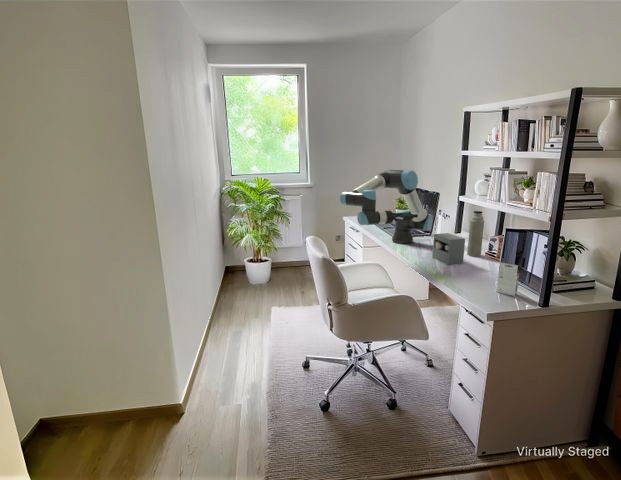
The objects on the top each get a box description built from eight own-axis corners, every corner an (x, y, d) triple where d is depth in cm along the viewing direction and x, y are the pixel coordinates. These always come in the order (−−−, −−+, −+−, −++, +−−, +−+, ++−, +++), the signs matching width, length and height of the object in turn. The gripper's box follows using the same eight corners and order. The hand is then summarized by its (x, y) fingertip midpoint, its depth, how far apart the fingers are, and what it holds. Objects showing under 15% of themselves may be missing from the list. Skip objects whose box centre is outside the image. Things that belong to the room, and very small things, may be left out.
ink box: (498, 290, 175) (501, 260, 172) (517, 294, 170) (520, 263, 166) (496, 292, 172) (499, 262, 169) (514, 296, 167) (518, 265, 164)
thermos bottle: (466, 253, 239) (470, 210, 233) (479, 253, 237) (484, 210, 231) (467, 256, 232) (472, 212, 225) (481, 257, 230) (486, 212, 223)
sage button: (444, 249, 217) (445, 244, 216) (452, 248, 218) (452, 244, 218) (447, 250, 214) (448, 245, 214) (455, 250, 216) (455, 245, 215)
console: (432, 257, 229) (434, 234, 226) (446, 256, 232) (448, 233, 228) (448, 265, 214) (450, 239, 211) (463, 263, 217) (465, 238, 213)
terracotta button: (435, 245, 226) (435, 241, 225) (442, 245, 227) (443, 240, 227) (438, 247, 223) (438, 242, 223) (445, 246, 225) (446, 241, 224)
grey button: (435, 248, 221) (435, 243, 220) (442, 247, 222) (443, 242, 221) (438, 249, 218) (438, 244, 217) (445, 248, 219) (446, 243, 219)
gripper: (379, 221, 217) (415, 219, 223) (389, 225, 205) (427, 223, 210) (379, 209, 215) (415, 207, 221) (390, 212, 203) (428, 210, 209)
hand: (421, 215), depth 216 cm, fingers closed
